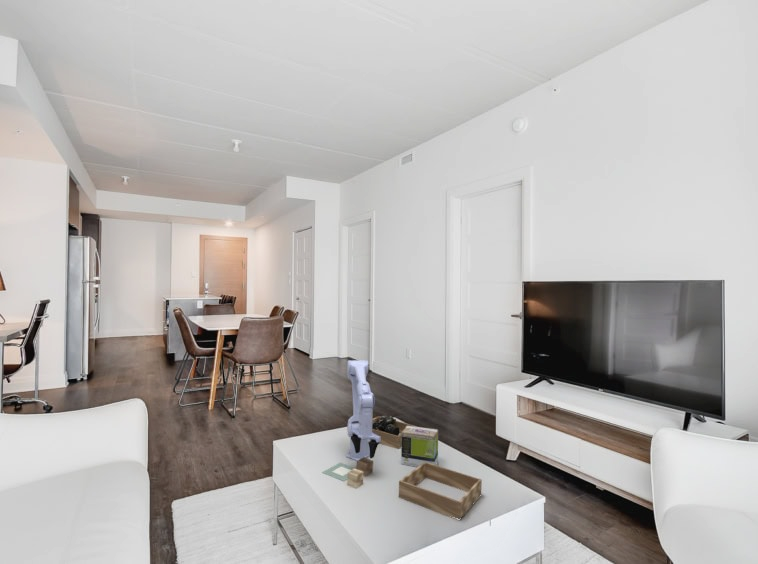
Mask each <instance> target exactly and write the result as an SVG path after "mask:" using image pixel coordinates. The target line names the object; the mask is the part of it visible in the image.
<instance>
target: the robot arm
mask: <svg viewBox="0 0 758 564" xmlns="http://www.w3.org/2000/svg"><path fill="white" fill-rule="evenodd" d="M369 369H370V368H369V361H368V360H367V359H365V360H364V359H363V360H359V359H358V360H354V359H353V360H350V359H348V360H347V362H346V376H347V379H349V380H350V381H351V387H352V388H351V391H352V392H351V393H352V411H353V412H352V414H353V415H352V416H350V418H348V420H347V429H346V430H347V437H349V438H350V446H349V447H350V449H349V453H347V454H346V455H345V458H346V457H347V458H349V459H351V460H353V461H354V460H355V461H356V462H357V461H358V460H360V459H361V458H363V457H365V458H368V457H369V458H370V459H373V458H375V454H376V451H377V448H378V446H379V444H380V441H381V437H380V436H378V435H376V434H374V433H372V419H373V417H374V416H373V414H374V413H373V412H374V407H375V402H376V401H375V395H374V393H373V392H372V389H371V386H370V383H369V382H368V381H367V376H368V372H369ZM370 440H372V441H370Z"/></svg>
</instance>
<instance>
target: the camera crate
mask: <svg viewBox="0 0 758 564" xmlns="http://www.w3.org/2000/svg"><path fill="white" fill-rule="evenodd" d="M380 418H382V416H375V417H374V418H372V425H373V423H374V422H375V421H376V420H380ZM394 425H395V426H397V427H398V428H399V430H400V432H399V435H398V436H396V435H393V434H389V433H386V432H382V431H379V430H375V429H372V433H374V434H376V435H378V436H380V437H381V441H380V443H379V444H381V445H383V446H387V447H391V448H393V449H397V450H399V449H400V448H401V447H402V431H403V430H404V429H405V428H406V427H407V426H415V427H418V426H417V425H415V424H414V425H413V424H410V423H405V422H402V421H398V420H396V422H395V423H394ZM370 441H372V440H370Z"/></svg>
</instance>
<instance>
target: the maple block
mask: <svg viewBox="0 0 758 564" xmlns="http://www.w3.org/2000/svg"><path fill="white" fill-rule="evenodd" d="M346 482H347V483H346V485H347V486H349V487H352V488H354V489H358V488H359V487H361V486H362V485H364V476H363V471H360V470H357V469H353V470H351V471H350V472H348V477H347V480H346Z"/></svg>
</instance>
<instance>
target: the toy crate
mask: <svg viewBox="0 0 758 564" xmlns="http://www.w3.org/2000/svg"><path fill="white" fill-rule="evenodd" d="M424 479H428V480H432V481H434V482H437V483H440V484H443V485H446V486H449V487H452V488H455V489H458V488H459V489H458V490H461V489H462V490H461V491H464V490H465V491H464V492H466V493H465V494H464V495H463V496H462V497H461V498H460V499H459V500H456V499H454V498H450V497H448V496H445V495H443V494H440V493H436V492H434V491H431V490H428V489H426V488H423V487H421V486H417V485H418V484H419V483H420V482H422V481H423V480H424ZM482 481H483V480H482V479H481V478H477V477H474V476H471V475H468V474H465V473H462V472H458V471H455V470H453V469H449V468H445V467H443V466H439V465H437V464H436V465H433V464H430V463H427V462H424V463H423V464H421V465H420V466H419V467H415V469H413V470H412V471H410V472H409V473H408V474H407V475H405V476H404V477H403V478H401V479H400V480H399V481H398V498H400V499H403V500H405V501H408V502H410V503H413V504H416V505H418V506H420V507H424V508H426V509H429V510H431V511H434V512H437V513H439V514H441V513H442V515H444V516H446V515H448V516H447V517H449V516H451V517H450V518H452V517H455V518H458V519H460V518H461V517H462V516H463V515H464V514H465V513H466V511H467V510H468V509H469V508H470V507H471V506H472V505H473V506H474V504H475V503H476V502H477V501H478V500H479V499H478V498H480V497H481V496H482V485H483V483H482ZM467 491H468V492H467ZM480 495H481V496H480ZM477 499H478V500H477ZM476 500H477V501H476ZM475 501H476V502H475ZM474 502H475V503H474ZM473 503H474V504H473ZM473 506H472V507H473ZM472 507H471V508H472ZM471 508H470V509H471ZM470 509H469V510H470ZM469 510H468V511H469ZM466 514H467V513H466ZM466 514H465V515H466ZM465 515H464V516H465ZM464 516H463V517H464Z"/></svg>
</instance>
